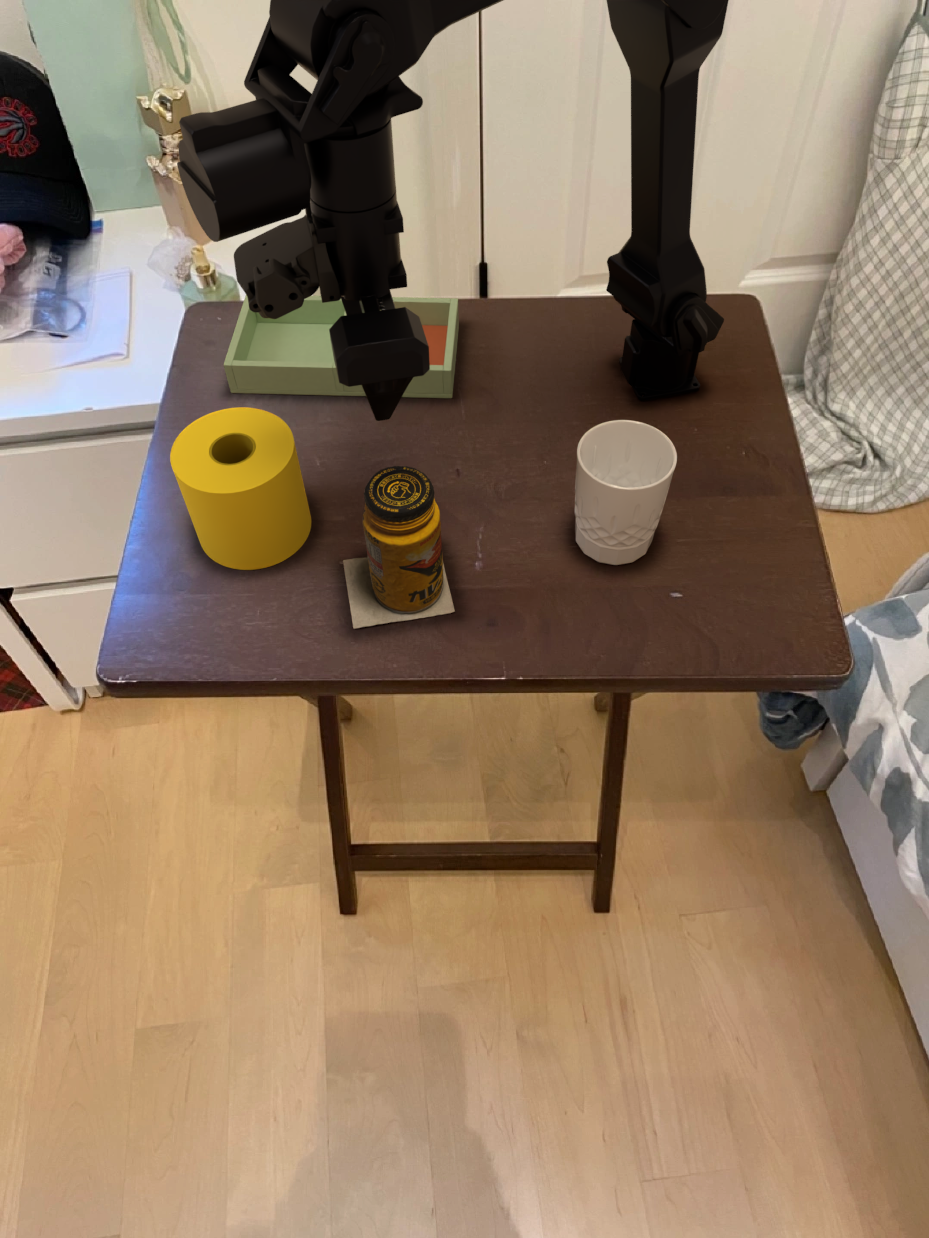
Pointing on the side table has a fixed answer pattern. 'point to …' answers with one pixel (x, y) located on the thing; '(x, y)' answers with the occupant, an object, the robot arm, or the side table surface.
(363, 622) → the condiment
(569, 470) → the side table surface
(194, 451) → the yellow toilet paper roll
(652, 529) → the white cup
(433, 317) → the holder
